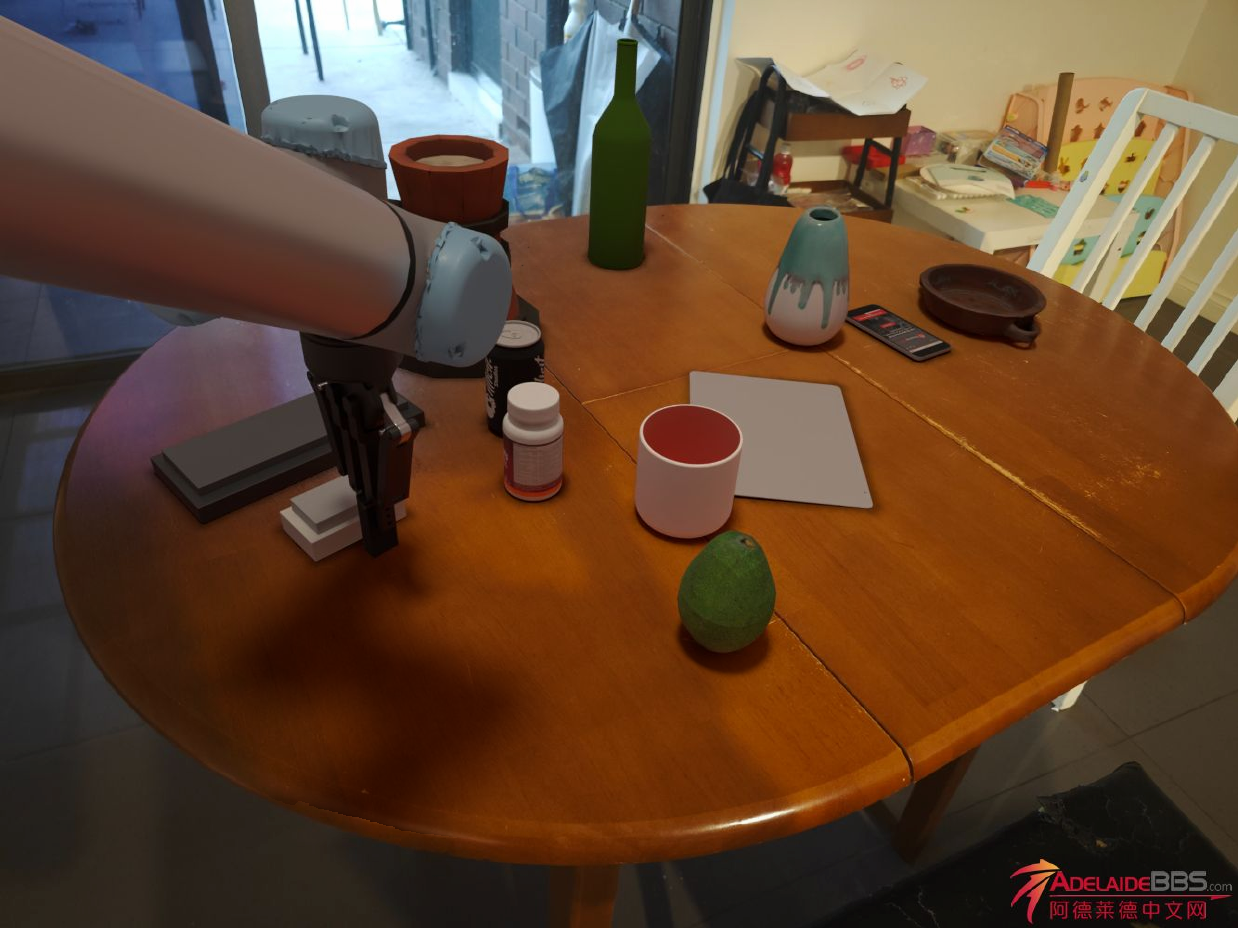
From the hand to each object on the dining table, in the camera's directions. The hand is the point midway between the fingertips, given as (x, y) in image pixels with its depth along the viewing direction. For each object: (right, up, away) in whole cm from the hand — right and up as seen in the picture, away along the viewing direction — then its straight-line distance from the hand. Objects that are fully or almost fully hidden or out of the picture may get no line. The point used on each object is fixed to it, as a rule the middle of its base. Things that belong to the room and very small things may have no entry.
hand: (381, 547), depth 79 cm
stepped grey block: (-5, +2, +5) cm, 8 cm away
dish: (+76, +30, +51) cm, 96 cm away
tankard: (-1, +25, +37) cm, 45 cm away
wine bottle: (+21, +41, +60) cm, 76 cm away
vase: (+48, +26, +43) cm, 69 cm away
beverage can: (+10, +12, +21) cm, 26 cm away
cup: (+28, +3, +10) cm, 30 cm away
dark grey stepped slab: (-13, +9, +15) cm, 22 cm away
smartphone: (+62, +26, +45) cm, 81 cm away
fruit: (+31, -8, -4) cm, 32 cm away
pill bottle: (+13, +5, +12) cm, 18 cm away
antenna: (+38, +11, +22) cm, 46 cm away
